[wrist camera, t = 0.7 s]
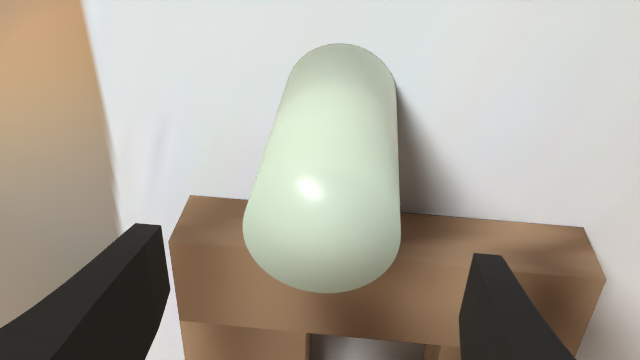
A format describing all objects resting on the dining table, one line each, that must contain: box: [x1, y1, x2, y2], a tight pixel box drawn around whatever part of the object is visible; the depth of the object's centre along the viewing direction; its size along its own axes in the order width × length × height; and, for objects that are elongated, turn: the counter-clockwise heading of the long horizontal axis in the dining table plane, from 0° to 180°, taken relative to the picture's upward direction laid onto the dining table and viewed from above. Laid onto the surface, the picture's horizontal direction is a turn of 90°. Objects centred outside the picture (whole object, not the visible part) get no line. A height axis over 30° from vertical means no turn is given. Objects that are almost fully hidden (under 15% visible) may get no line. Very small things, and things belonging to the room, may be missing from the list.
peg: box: [243, 44, 401, 293], centre depth 18 cm, size 4×4×8 cm
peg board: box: [168, 195, 606, 360], centre depth 27 cm, size 16×14×3 cm
